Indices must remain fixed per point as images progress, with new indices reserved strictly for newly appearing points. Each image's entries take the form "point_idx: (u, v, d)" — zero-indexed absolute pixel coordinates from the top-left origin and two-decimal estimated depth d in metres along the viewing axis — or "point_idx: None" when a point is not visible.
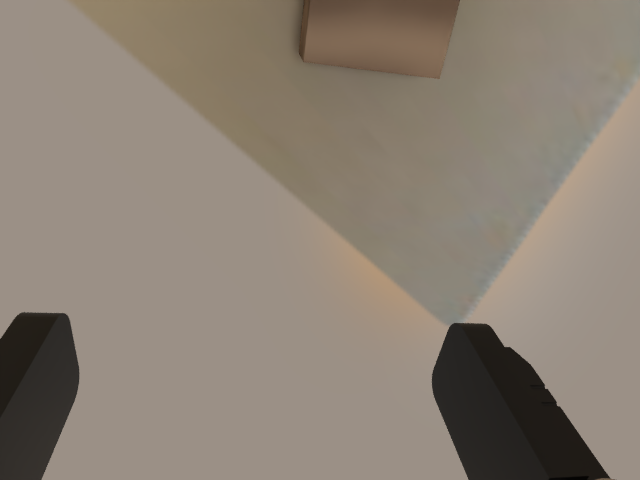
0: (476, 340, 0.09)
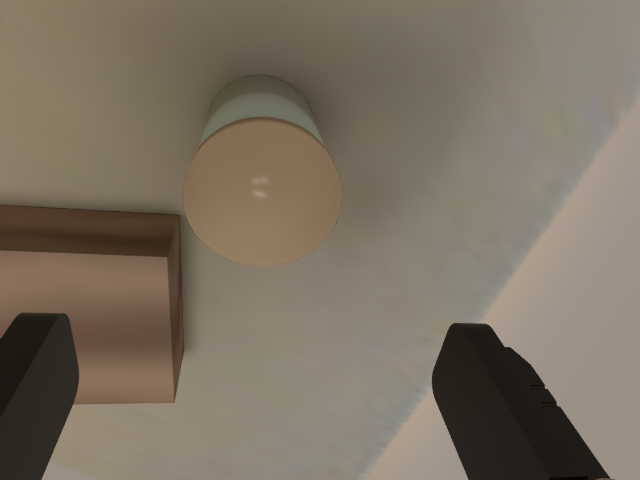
0: (476, 340, 0.09)
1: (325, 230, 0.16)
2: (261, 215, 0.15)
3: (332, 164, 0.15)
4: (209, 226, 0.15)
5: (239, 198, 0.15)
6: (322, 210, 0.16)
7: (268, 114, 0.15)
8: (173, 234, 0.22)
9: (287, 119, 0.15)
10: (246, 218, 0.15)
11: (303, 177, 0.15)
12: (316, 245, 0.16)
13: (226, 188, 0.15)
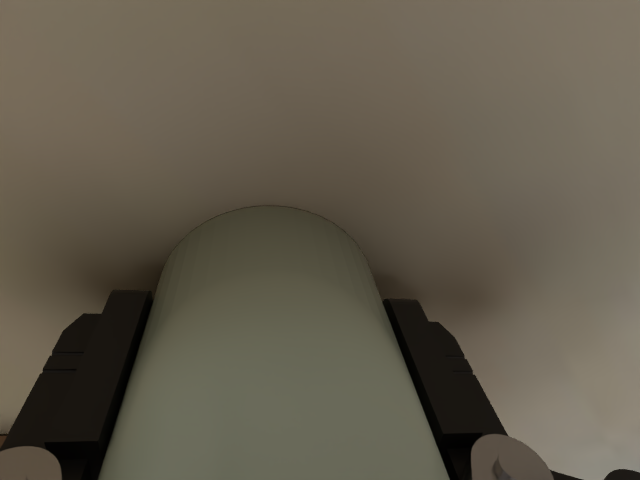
0: (401, 313, 0.09)
1: None
2: None
3: None
4: None
5: None
6: None
7: None
8: None
9: None
10: None
11: None
12: None
13: None
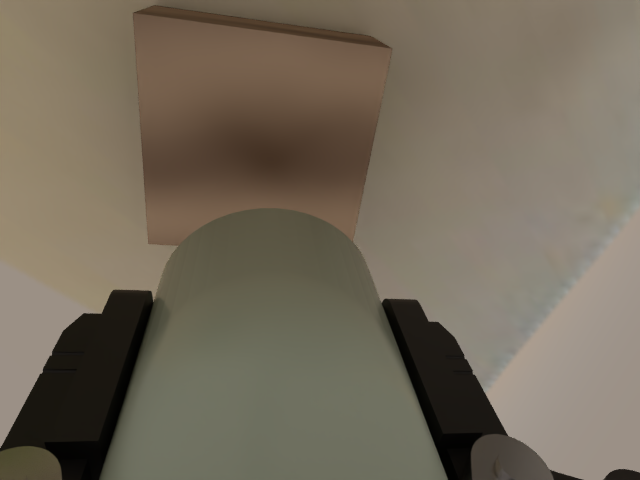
0: (401, 313, 0.09)
1: None
2: None
3: None
4: None
5: None
6: None
7: None
8: (379, 42, 0.20)
9: None
10: None
11: None
12: None
13: None
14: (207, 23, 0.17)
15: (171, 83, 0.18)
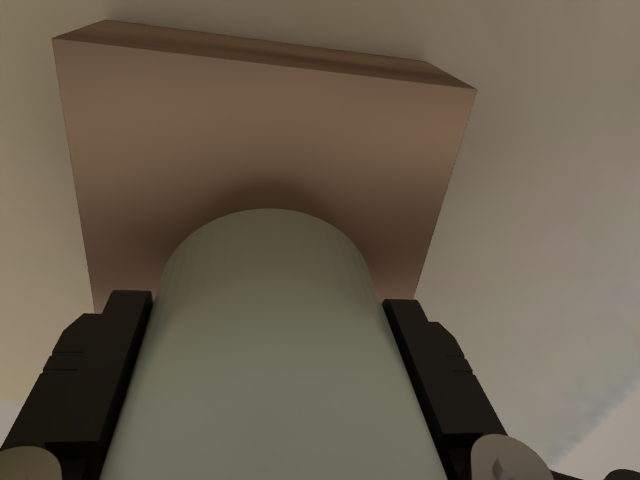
0: (401, 313, 0.09)
1: None
2: None
3: None
4: None
5: None
6: None
7: None
8: (446, 74, 0.13)
9: None
10: None
11: None
12: None
13: None
14: (179, 53, 0.10)
15: (125, 149, 0.11)
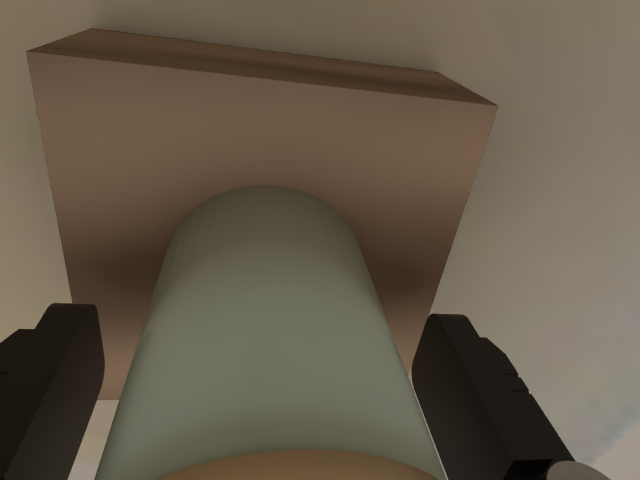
0: (451, 330, 0.09)
1: None
2: None
3: None
4: None
5: None
6: None
7: (290, 405, 0.05)
8: (461, 87, 0.12)
9: (344, 415, 0.05)
10: None
11: None
12: None
13: None
14: (170, 67, 0.09)
15: (110, 171, 0.10)
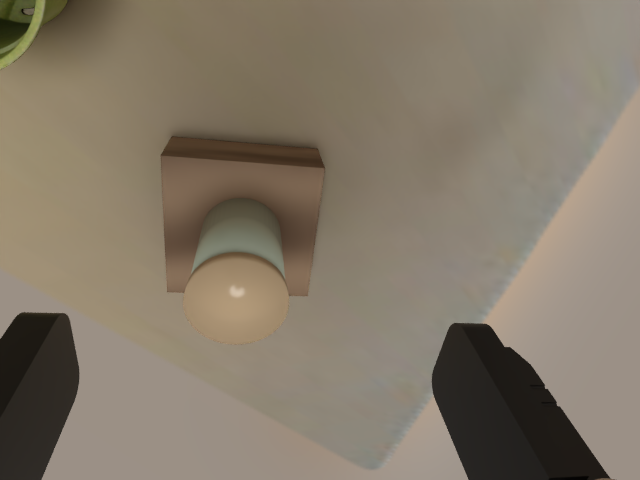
0: (476, 340, 0.09)
1: (279, 320, 0.24)
2: (235, 312, 0.23)
3: (280, 281, 0.23)
4: (200, 320, 0.23)
5: (220, 303, 0.23)
6: (276, 308, 0.23)
7: (239, 247, 0.23)
8: (320, 158, 0.30)
9: (252, 250, 0.23)
10: (225, 315, 0.23)
11: (261, 290, 0.23)
12: (273, 330, 0.24)
13: (211, 297, 0.23)
14: (206, 158, 0.27)
15: (184, 193, 0.28)
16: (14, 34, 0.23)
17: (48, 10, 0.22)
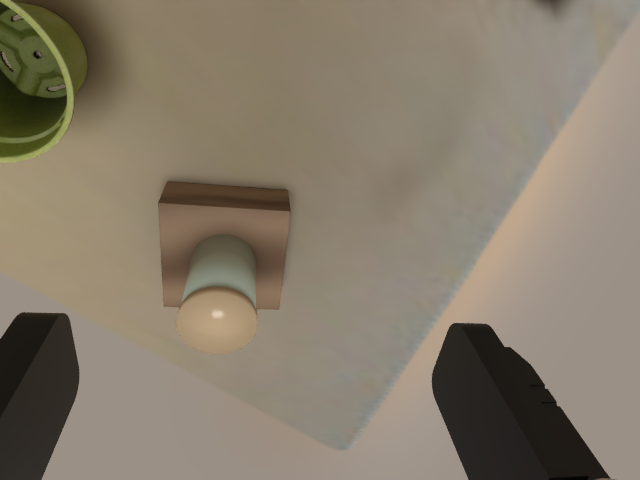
0: (476, 340, 0.09)
1: (250, 336, 0.31)
2: (216, 331, 0.30)
3: (250, 308, 0.30)
4: (189, 336, 0.30)
5: (204, 324, 0.30)
6: (247, 327, 0.30)
7: (219, 281, 0.30)
8: (288, 200, 0.37)
9: (228, 283, 0.30)
10: (208, 332, 0.30)
11: (235, 314, 0.30)
12: (246, 343, 0.31)
13: (197, 320, 0.30)
14: (194, 204, 0.34)
15: (177, 231, 0.35)
16: (43, 114, 0.30)
17: None
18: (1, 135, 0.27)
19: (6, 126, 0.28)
